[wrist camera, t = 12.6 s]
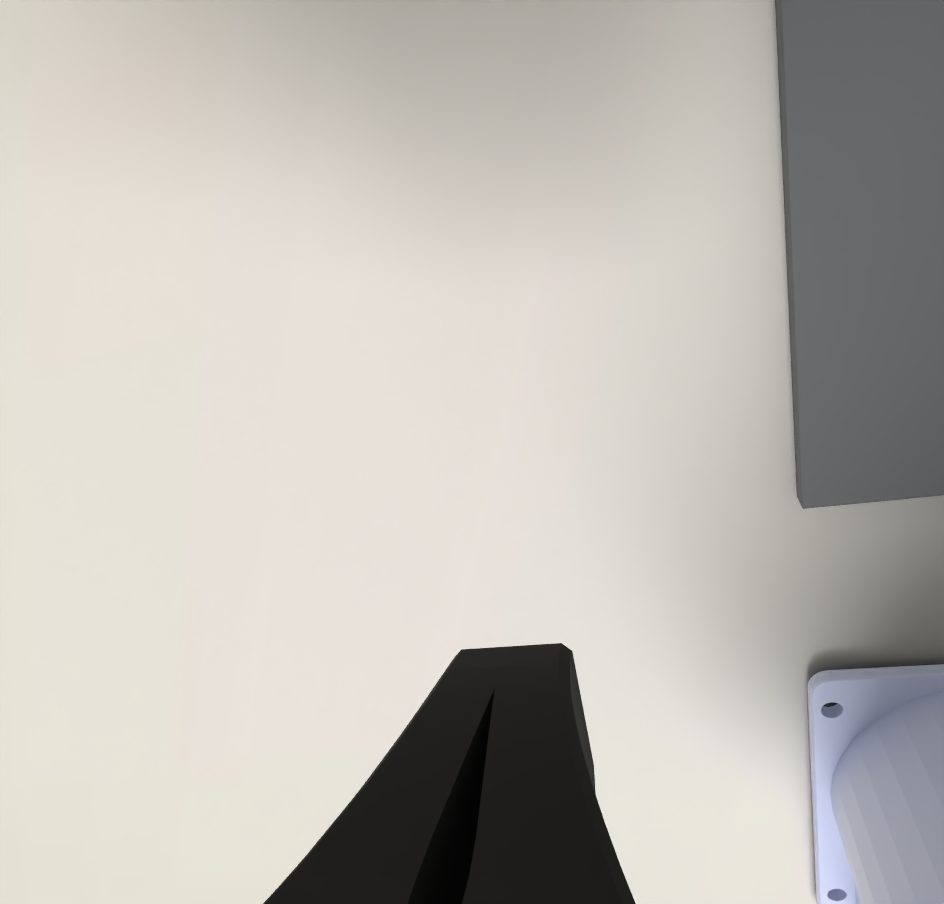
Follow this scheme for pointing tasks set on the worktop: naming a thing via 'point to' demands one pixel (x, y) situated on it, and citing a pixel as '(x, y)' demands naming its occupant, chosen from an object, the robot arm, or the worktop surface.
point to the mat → (864, 245)
